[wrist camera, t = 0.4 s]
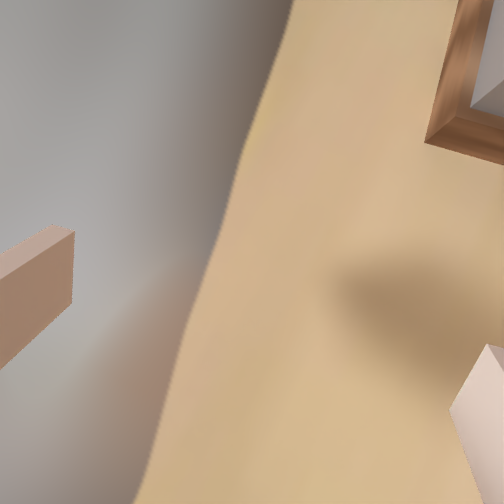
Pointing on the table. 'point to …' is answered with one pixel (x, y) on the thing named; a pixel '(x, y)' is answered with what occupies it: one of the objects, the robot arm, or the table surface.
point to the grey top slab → (491, 66)
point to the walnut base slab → (465, 90)
